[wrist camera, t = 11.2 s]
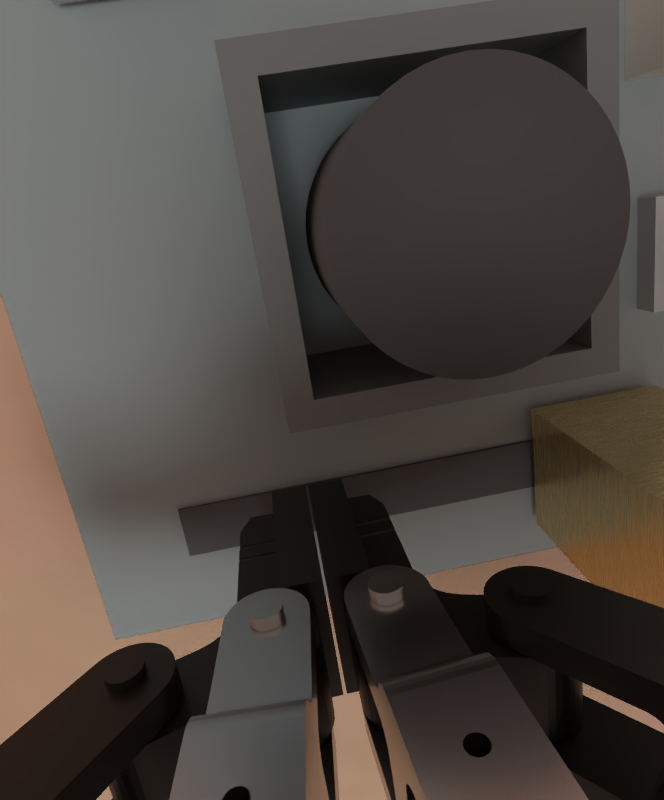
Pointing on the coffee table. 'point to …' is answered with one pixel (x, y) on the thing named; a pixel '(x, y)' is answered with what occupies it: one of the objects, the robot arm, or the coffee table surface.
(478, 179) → the black button
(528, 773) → the robot arm
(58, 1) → the light grey block
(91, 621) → the coffee table surface
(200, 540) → the control board
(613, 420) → the gold rectangular block
